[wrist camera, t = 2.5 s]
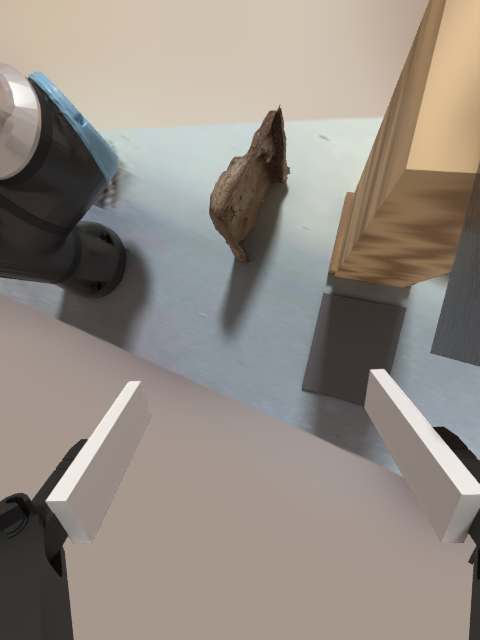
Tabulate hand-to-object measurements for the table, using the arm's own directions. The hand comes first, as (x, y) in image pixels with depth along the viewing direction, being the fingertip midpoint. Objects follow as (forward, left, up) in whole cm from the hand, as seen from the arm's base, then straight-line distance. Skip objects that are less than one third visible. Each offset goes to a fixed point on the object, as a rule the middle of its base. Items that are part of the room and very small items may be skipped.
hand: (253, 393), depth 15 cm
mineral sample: (-9, +21, -29) cm, 37 cm away
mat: (+10, +2, -29) cm, 30 cm away
